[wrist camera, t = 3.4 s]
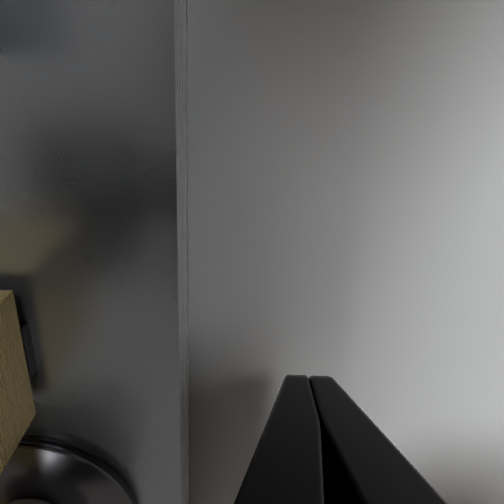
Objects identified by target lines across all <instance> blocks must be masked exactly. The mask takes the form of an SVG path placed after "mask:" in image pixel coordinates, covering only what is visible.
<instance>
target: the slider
mask: <svg viewBox="0 0 504 504" xmlns="http://www.w3.org/2000/svg"><path fill="white" fill-rule="evenodd" d="M35 415H36V411H35V405H34V400H33V395H32V389H31V384H30V379H29V374H28V368H27V363H26V358H25V352H24V347H23V342H22V336H21V331H20V326H19V320H18V315H17V310H16V305H15V299H14V294H13V290H0V475H1V473H2V471H3V470H4V468H5V466H6V464H7V463H8V461H9V459H10V458H11V456H12V454H13V452H14V451H15V449H16V447H17V446H18V444H19V442H20V440H21V439H22V437H23V435H24V434H25V432H26V430H27V428H28V427H29V425H30V423H31V422H32V420H33V418H34V416H35Z"/></svg>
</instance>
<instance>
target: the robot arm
mask: <svg viewBox="0 0 504 504" xmlns="http://www.w3.org/2000/svg"><path fill="white" fill-rule="evenodd" d="M234 504H447V503H446V502H445V500H444V499H443V498H442V497H441V496H440V495H439V494H438V493H437V492H436V491H435V490H434V488H433V487H432V486H431V485H430V484H429V483H428V482H427V481H426V480H425V479H424V478H423V476H422V475H421V474H420V473H419V472H418V471H417V470H416V469H415V468H414V467H413V465H412V464H411V463H410V462H409V461H408V460H407V459H406V458H405V457H404V456H403V455H402V453H401V452H400V451H399V450H398V449H397V448H396V447H395V446H394V445H393V444H392V443H391V441H390V440H389V439H388V438H387V437H386V436H385V435H384V434H383V433H382V432H381V431H380V429H379V428H378V427H377V426H376V425H375V424H374V423H373V422H372V421H371V420H370V418H369V417H368V416H367V415H366V414H365V413H364V412H363V411H362V410H361V409H360V408H359V406H358V405H357V404H356V403H355V402H354V401H353V400H352V399H351V398H350V397H349V396H348V394H347V393H346V392H345V391H344V390H343V389H342V388H341V387H340V386H339V385H338V384H337V382H336V381H335V380H334V379H333V378H331V377H329V376H310V377H309V378H308V377H307V376H305V375H287V376H286V377H285V379H284V381H283V384H282V386H281V389H280V391H279V393H278V396H277V398H276V401H275V403H274V406H273V408H272V411H271V413H270V416H269V418H268V421H267V423H266V425H265V428H264V430H263V433H262V435H261V438H260V440H259V443H258V445H257V448H256V450H255V453H254V455H253V458H252V460H251V462H250V465H249V467H248V470H247V472H246V475H245V477H244V480H243V482H242V485H241V487H240V490H239V492H238V495H237V497H236V499H235V502H234Z"/></svg>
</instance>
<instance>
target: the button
mask: <svg viewBox="0 0 504 504" xmlns="http://www.w3.org/2000/svg"><path fill="white" fill-rule="evenodd" d="M7 504H51V503H49V502H46V501H42V500H37V499H18V500H14V501H11V502H9V503H7Z"/></svg>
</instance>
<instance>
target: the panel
mask: <svg viewBox="0 0 504 504" xmlns="http://www.w3.org/2000/svg"><path fill="white" fill-rule="evenodd" d="M0 290H13V294H14V299H15V305H16V310H17V315H18V320H19V326H20V331H21V336H22V342H23V347H24V352H25V358H26V363H27V368H28V374H29V379H30V384H31V389H32V395H33V400H34V405H35V411H36V415H35V416H34V418H33V420H32V422H31V423H30V425H29V427H28V428H27V430H26V432H25V434H24V435H23V437H22V439H21V440H20V442H19V444H18V446H17V447H16V449H15V451H14V452H13V454H12V456H11V458H10V459H9V461H8V463H7V464H6V466H5V468H4V470H3V471H2V473H1V475H0V504H7V503H9V502H11V501H14V500H18V499H37V500H42V501H46V502H49V503H51V504H189V426H188V203H187V0H0Z"/></svg>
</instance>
